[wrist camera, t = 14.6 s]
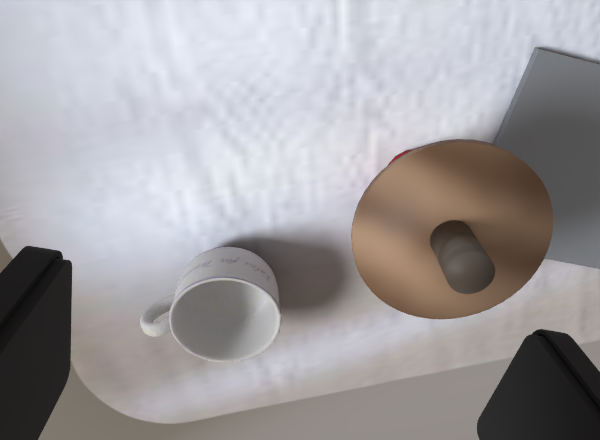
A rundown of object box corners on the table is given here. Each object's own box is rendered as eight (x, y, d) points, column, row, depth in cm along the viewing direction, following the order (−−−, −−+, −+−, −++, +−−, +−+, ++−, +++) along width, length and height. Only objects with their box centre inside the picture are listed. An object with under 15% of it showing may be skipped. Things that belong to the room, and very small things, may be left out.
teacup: (281, 235, 50) (283, 278, 43) (279, 316, 55) (279, 367, 48) (147, 232, 49) (126, 276, 42) (157, 315, 54) (139, 367, 47)
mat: (535, 47, 42) (539, 48, 42) (723, 96, 45) (730, 98, 45) (452, 238, 51) (455, 241, 51) (614, 268, 54) (619, 272, 53)
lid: (383, 118, 33) (397, 142, 28) (582, 164, 34) (633, 196, 29) (330, 292, 40) (333, 339, 34) (500, 327, 41) (529, 377, 35)
